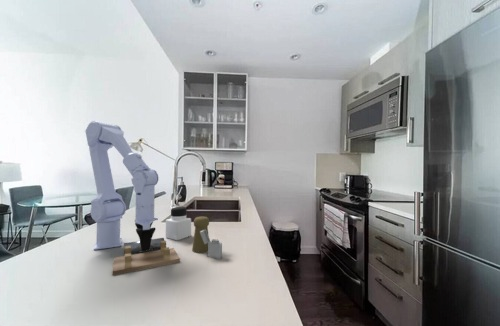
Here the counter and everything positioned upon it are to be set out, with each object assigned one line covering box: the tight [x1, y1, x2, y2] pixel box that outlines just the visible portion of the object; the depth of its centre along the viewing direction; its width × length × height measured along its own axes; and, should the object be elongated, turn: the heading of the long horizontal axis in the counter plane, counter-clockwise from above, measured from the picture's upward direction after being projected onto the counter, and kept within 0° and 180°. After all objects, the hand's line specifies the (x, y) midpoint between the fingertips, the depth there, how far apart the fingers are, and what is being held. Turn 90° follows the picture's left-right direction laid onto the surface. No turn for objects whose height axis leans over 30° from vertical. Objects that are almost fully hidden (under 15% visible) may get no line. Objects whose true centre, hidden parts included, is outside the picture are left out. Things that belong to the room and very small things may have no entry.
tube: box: [123, 237, 165, 256], centre depth 75 cm, size 4×12×4 cm, turn 119°
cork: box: [191, 216, 210, 254], centre depth 76 cm, size 6×6×11 cm
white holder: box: [200, 229, 223, 259], centre depth 71 cm, size 7×2×8 cm, turn 72°
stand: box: [111, 240, 181, 276], centre depth 66 cm, size 10×17×4 cm, turn 119°
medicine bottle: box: [165, 205, 192, 241], centre depth 90 cm, size 7×7×12 cm
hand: (144, 246), depth 75 cm, fingers open, 7 cm apart
